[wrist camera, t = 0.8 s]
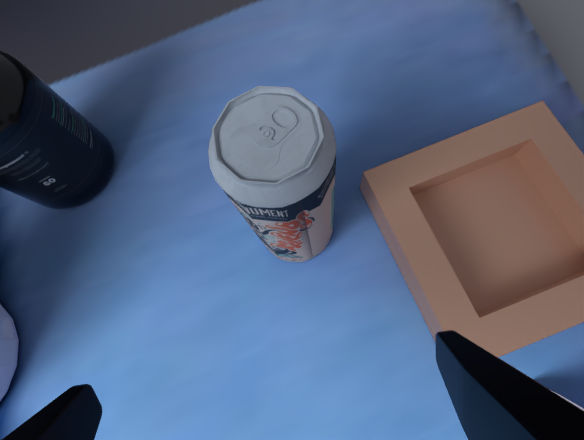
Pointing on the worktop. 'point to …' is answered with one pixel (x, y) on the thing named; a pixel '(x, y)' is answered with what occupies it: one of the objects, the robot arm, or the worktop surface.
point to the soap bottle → (7, 350)
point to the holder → (489, 229)
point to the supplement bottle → (47, 142)
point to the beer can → (278, 168)
